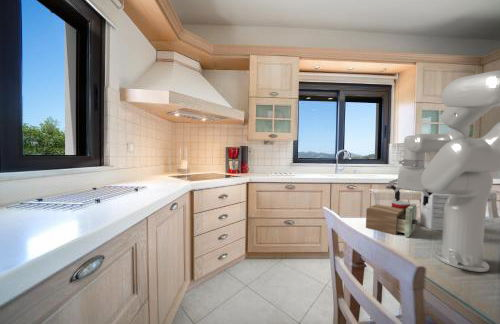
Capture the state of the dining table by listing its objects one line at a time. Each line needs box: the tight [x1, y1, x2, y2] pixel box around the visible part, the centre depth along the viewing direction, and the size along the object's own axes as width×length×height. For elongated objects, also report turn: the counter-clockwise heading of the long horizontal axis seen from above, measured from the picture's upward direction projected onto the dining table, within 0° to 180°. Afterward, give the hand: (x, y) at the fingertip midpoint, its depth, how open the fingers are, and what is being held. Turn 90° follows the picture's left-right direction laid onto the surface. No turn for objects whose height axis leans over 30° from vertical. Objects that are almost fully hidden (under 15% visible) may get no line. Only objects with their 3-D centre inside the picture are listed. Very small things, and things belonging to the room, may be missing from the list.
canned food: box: [391, 199, 411, 215], centre depth 108 cm, size 8×8×11 cm
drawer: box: [397, 203, 419, 238], centre depth 98 cm, size 14×14×12 cm
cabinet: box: [365, 203, 404, 236], centre depth 102 cm, size 14×12×9 cm
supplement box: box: [419, 191, 451, 232], centre depth 104 cm, size 10×9×17 cm
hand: (410, 202), depth 95 cm, fingers open, 9 cm apart
